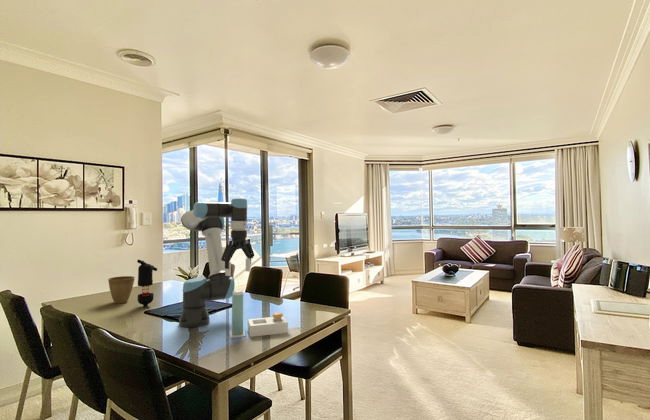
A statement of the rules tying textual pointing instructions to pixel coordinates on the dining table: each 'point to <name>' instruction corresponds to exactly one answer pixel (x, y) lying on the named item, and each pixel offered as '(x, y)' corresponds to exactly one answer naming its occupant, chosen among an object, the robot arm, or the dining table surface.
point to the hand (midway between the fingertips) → (238, 273)
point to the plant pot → (121, 288)
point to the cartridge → (237, 313)
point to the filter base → (267, 326)
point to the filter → (145, 282)
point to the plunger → (277, 316)
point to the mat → (237, 335)
